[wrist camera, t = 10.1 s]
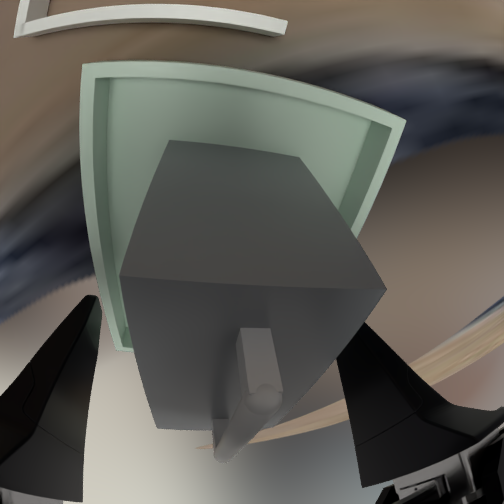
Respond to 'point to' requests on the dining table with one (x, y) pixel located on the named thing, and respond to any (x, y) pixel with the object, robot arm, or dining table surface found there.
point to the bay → (140, 18)
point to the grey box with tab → (239, 289)
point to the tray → (213, 132)
